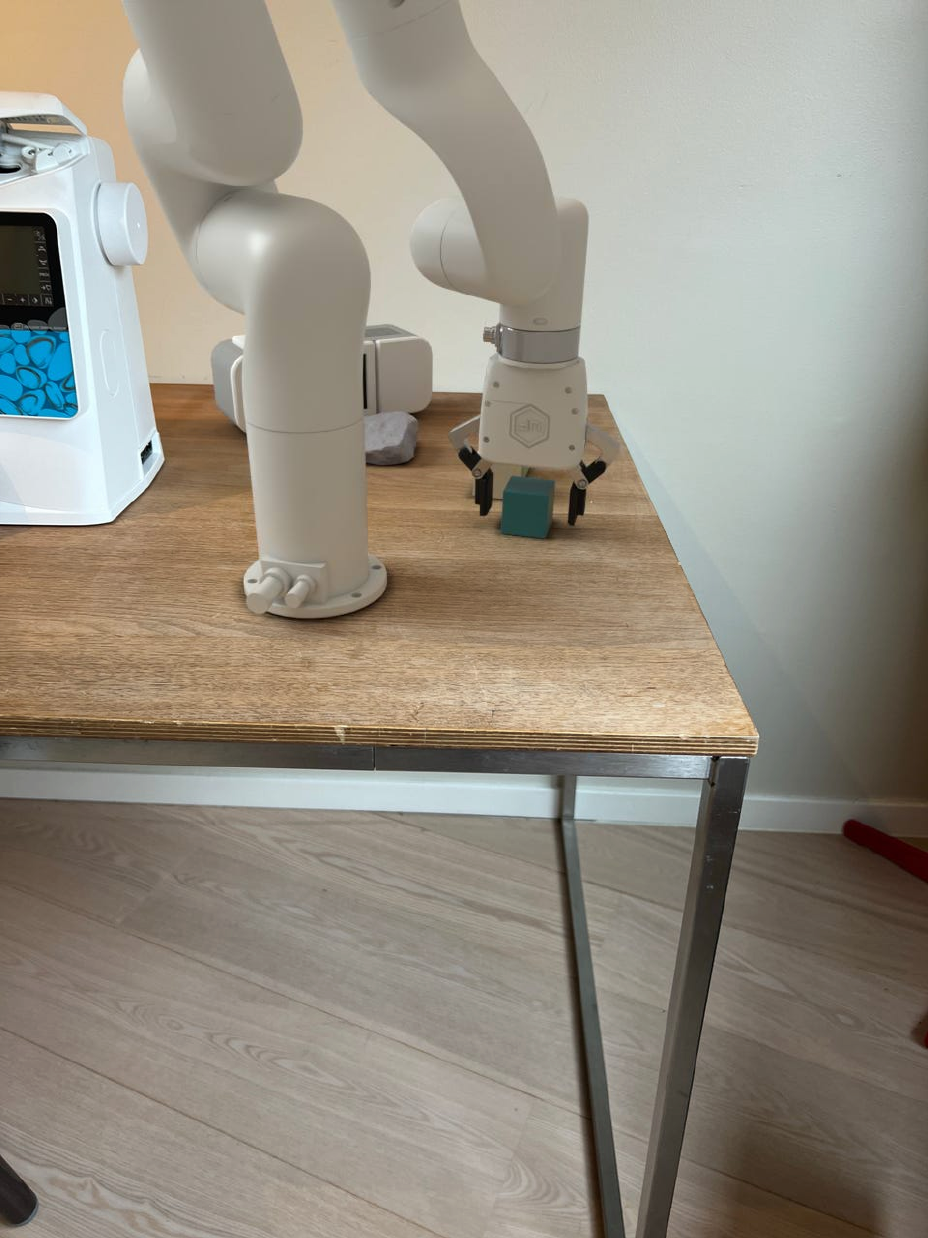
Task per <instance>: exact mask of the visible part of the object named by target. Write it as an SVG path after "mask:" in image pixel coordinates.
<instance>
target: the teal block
mask: <svg viewBox="0 0 928 1238" xmlns="http://www.w3.org/2000/svg"><path fill="white" fill-rule="evenodd" d="M555 492H556V480H555V479H547V478H537V477H528V476H525V477H520V476H511V478H510V480H509V481H508V483H507V485H506V487H505V489H504V491H503V499H502V502H501V526H500V527H501V528H500V534H501V535H502V534H503V535H511V536H520V537H528V538H530V537H531V538H536V539H537V538H538V539H547V537H548V533H549V531H550V529H551V526H552V523H553V516H554V506H555V505H554V504H555Z"/></svg>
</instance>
